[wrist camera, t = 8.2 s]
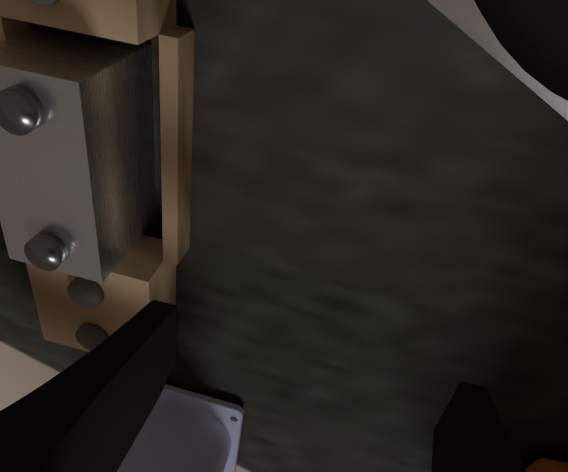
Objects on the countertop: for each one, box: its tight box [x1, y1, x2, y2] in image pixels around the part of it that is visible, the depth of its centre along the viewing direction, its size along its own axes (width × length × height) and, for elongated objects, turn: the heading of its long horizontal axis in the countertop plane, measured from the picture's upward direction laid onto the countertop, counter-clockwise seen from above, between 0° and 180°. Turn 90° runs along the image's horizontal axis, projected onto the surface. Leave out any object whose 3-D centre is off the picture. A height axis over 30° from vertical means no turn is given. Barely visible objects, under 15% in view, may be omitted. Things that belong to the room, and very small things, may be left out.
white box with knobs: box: [0, 26, 156, 283], centre depth 19 cm, size 8×4×6 cm, turn 173°
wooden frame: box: [0, 0, 195, 352], centre depth 20 cm, size 22×7×3 cm, turn 173°
